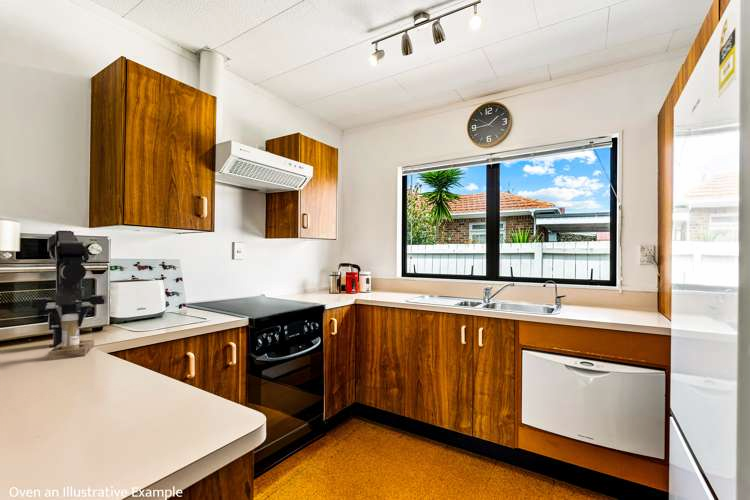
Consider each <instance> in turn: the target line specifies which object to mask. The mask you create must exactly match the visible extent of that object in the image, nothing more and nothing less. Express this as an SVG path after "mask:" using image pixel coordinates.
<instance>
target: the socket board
mask: <svg viewBox="0 0 750 500" xmlns="http://www.w3.org/2000/svg"><path fill="white" fill-rule="evenodd" d="M94 346H95V339H93V338H92V339H85V340H84V339H83V340H81V339H79V348H75V349H67V350H63V349H62V343H60V344H59V345H58V346H55V347H53V348H52V349H51V350H49V351H48V361H54V360H62V359H73V358H78V357H80V358H81V357H85V356H86V355H87V354H88V353H89V352H90V351H91V350H92V349H93V348H94Z"/></svg>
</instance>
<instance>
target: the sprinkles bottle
mask: <svg viewBox="0 0 750 500" xmlns="http://www.w3.org/2000/svg"><path fill="white" fill-rule="evenodd" d="M79 317H80V315H79V314H65V315H62V319H61V320H62V349H63V350H67V349H75V348H79V341H80V327H79Z"/></svg>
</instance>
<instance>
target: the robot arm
mask: <svg viewBox="0 0 750 500" xmlns="http://www.w3.org/2000/svg"><path fill="white" fill-rule="evenodd" d="M46 246H47V252H48V253H49V257H50V259H51V260H52V261H53V262H54V263H55V291H56V292H55V293H54V299H52V297H38V298H33V299H32V300H30V303H29V309H30V310H31V309H32V310H33V309H44V308H45V309H44V310H45V311H49V313H48V317H47V318H48V319H47V330H48V331H53V332H52V334H53V335H52V336H53V337H52V339H53V340H52V341H53V343H52V344H50V345H49V347H50V348H52V347H53V348H55V347H56V346H58V345H59V344H60V343H62V320H61V319H62V315H65V314H79V315H80V317H79V328H81V327H82V325H83V323H84V320H85V319H86V318H85V317H86V316H87V313H88V312H89V311H90V309H91V308H93V307H95V306H97V305H105V304H107V299H108V298H107V295H105V294H94V295H93V294H92V295H90V296H89V297H85V292H84V288H83V287H82V286H83V285H82V282H83V281H82V280H83V279H85V277H86V274H87V269H86V267H85V266H84V265H83V264H82V263H88V261H89V258H90V256H89V251H88V250H89V249H88V248H87V246H86V245H84V242H81V241H78V238H77V236H75V231H71V230H56V231H55V233H54V234H52V235H51V236H49V237H48V238H47V245H46ZM78 304H81V306H79V310H78V308H77V307H78V306H77V305H78Z"/></svg>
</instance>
